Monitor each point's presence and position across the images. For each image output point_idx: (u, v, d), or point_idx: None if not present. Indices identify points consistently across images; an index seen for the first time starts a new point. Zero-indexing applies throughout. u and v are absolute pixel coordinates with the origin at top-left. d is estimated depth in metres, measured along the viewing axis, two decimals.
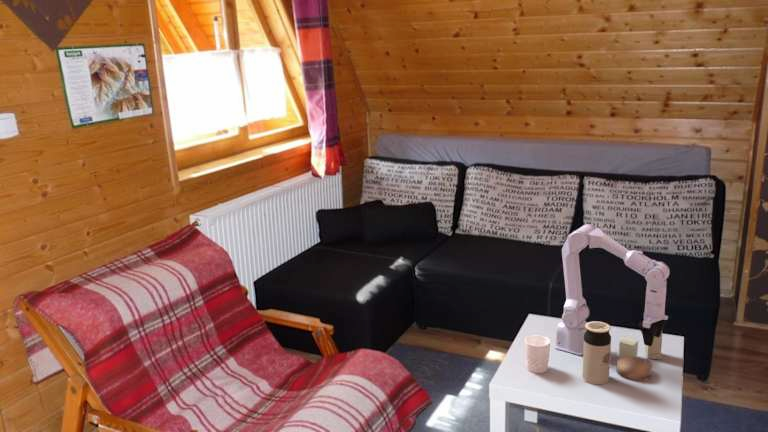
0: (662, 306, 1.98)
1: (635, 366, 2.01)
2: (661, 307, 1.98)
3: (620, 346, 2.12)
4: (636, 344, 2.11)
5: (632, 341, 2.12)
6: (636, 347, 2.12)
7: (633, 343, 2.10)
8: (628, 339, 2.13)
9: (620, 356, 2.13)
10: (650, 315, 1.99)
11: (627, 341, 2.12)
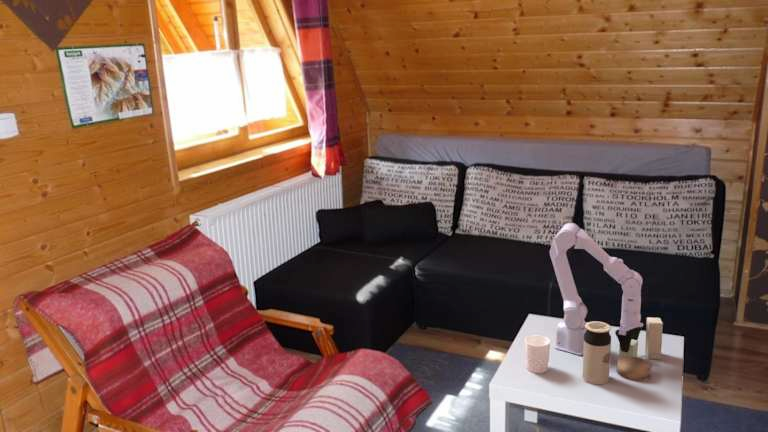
0: (637, 314, 2.07)
1: (635, 366, 2.01)
2: (636, 315, 2.07)
3: None
4: (636, 344, 2.11)
5: (632, 341, 2.12)
6: (636, 347, 2.12)
7: (633, 343, 2.10)
8: None
9: (620, 356, 2.13)
10: (626, 323, 2.08)
11: None
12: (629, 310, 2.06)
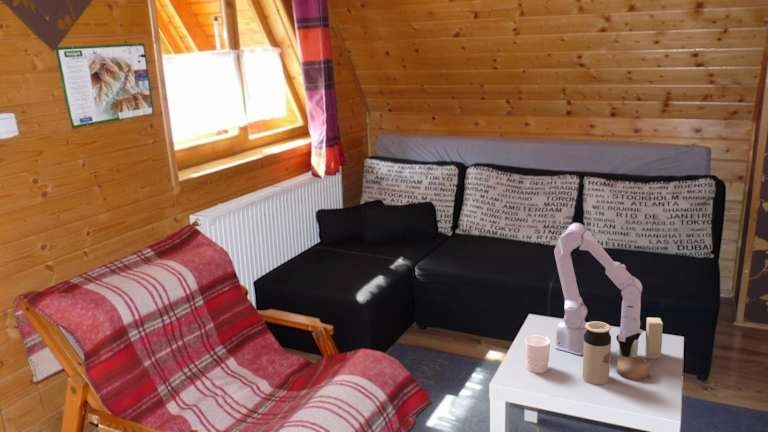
0: (637, 320, 2.07)
1: (635, 366, 2.01)
2: (636, 321, 2.07)
3: None
4: (636, 344, 2.11)
5: None
6: (636, 347, 2.12)
7: (633, 343, 2.10)
8: None
9: (620, 356, 2.13)
10: (625, 329, 2.09)
11: None
12: (629, 316, 2.07)
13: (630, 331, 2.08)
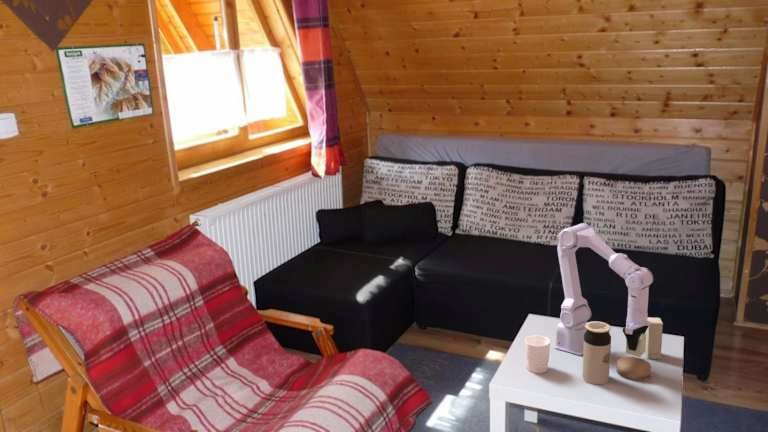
0: (644, 312, 1.96)
1: (635, 366, 2.01)
2: (643, 313, 1.96)
3: None
4: (644, 338, 2.00)
5: None
6: (644, 341, 2.00)
7: (641, 337, 1.99)
8: None
9: (627, 351, 2.01)
10: (632, 321, 1.97)
11: None
12: (632, 307, 1.97)
13: (637, 323, 1.97)
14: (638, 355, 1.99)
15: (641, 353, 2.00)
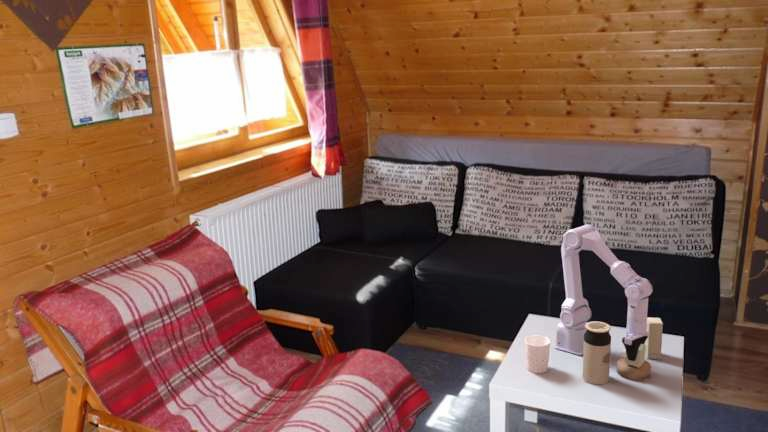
0: (644, 322, 1.97)
1: (635, 366, 2.01)
2: (643, 323, 1.97)
3: None
4: (643, 348, 2.00)
5: None
6: (643, 351, 2.01)
7: (641, 348, 1.99)
8: None
9: (626, 361, 2.02)
10: (632, 331, 1.98)
11: None
12: (631, 317, 1.97)
13: (637, 334, 1.97)
14: (637, 365, 2.00)
15: (640, 363, 2.00)
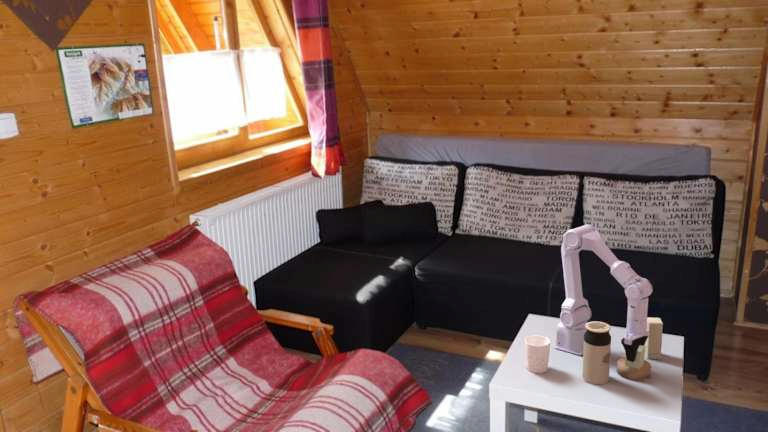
0: (644, 322, 1.97)
1: None
2: (643, 323, 1.97)
3: None
4: (643, 350, 2.01)
5: (639, 347, 2.01)
6: (643, 353, 2.01)
7: (640, 349, 2.00)
8: None
9: (626, 363, 2.02)
10: (632, 331, 1.98)
11: None
12: (631, 317, 1.97)
13: (637, 334, 1.97)
14: (637, 367, 2.00)
15: (640, 365, 2.00)
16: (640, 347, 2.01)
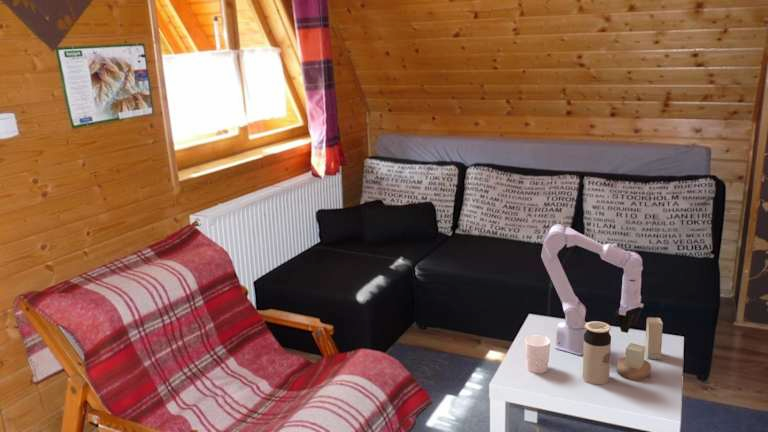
0: (637, 294, 2.07)
1: None
2: (636, 295, 2.07)
3: (626, 352, 2.01)
4: (643, 350, 2.01)
5: (639, 347, 2.01)
6: (643, 353, 2.01)
7: (640, 349, 2.00)
8: (634, 345, 2.03)
9: (626, 363, 2.02)
10: (626, 303, 2.08)
11: (634, 346, 2.02)
12: (630, 290, 2.07)
13: (631, 305, 2.08)
14: (637, 367, 2.00)
15: (640, 365, 2.00)
16: (640, 347, 2.01)
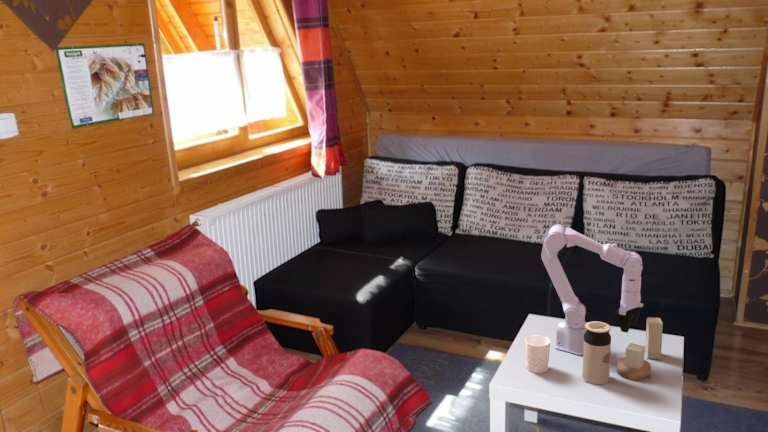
0: (637, 294, 2.07)
1: None
2: (636, 295, 2.07)
3: (626, 352, 2.01)
4: (643, 350, 2.01)
5: (639, 347, 2.01)
6: (643, 353, 2.01)
7: (640, 349, 2.00)
8: (634, 345, 2.03)
9: (626, 363, 2.02)
10: (626, 303, 2.09)
11: (634, 346, 2.02)
12: (630, 290, 2.07)
13: (631, 305, 2.08)
14: (637, 367, 2.00)
15: (640, 365, 2.00)
16: (640, 347, 2.01)
